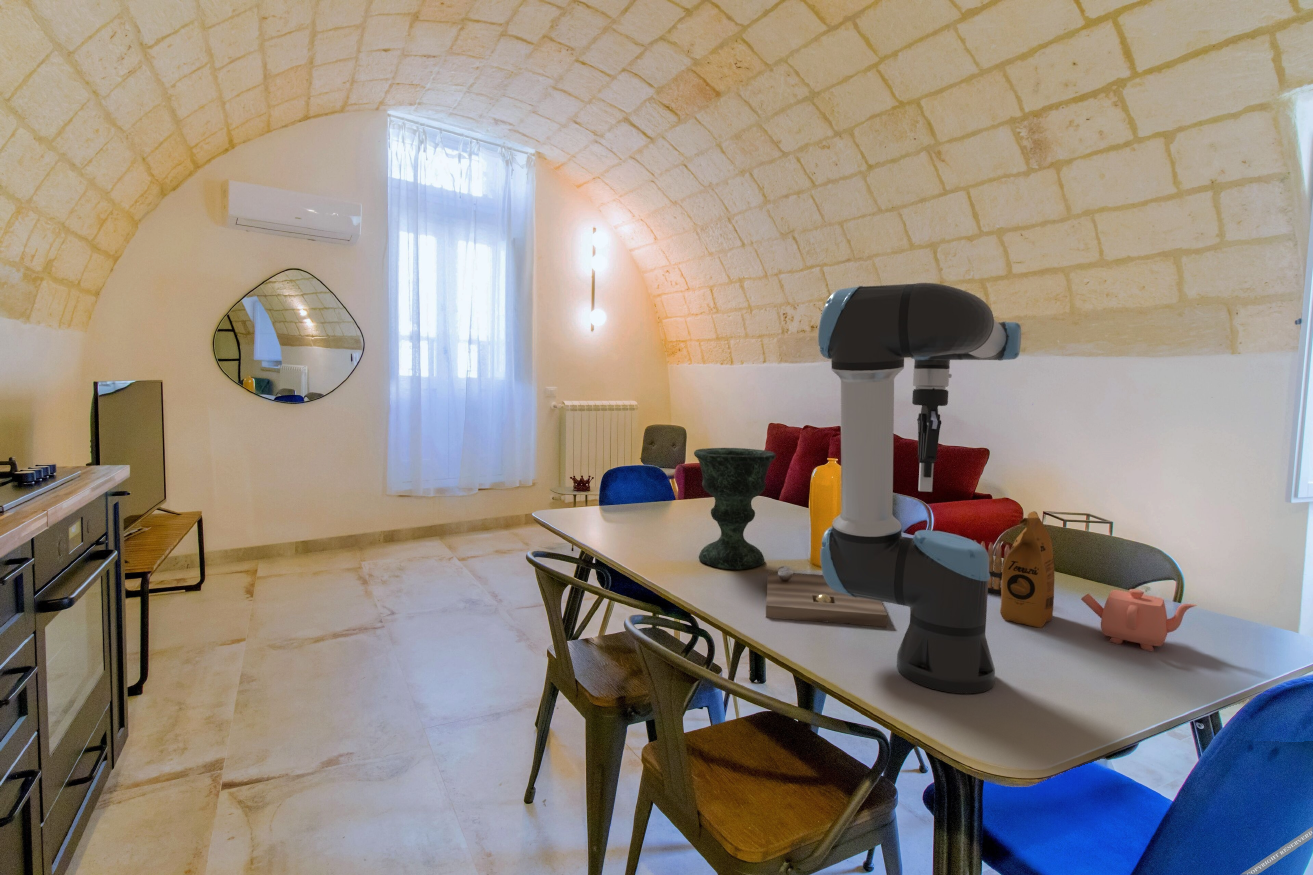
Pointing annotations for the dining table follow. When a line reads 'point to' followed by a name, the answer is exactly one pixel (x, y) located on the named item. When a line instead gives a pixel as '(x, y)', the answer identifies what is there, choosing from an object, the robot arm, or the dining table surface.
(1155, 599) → the teapot
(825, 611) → the hole plate
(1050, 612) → the coffee package
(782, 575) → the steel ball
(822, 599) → the brass ball
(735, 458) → the goblet
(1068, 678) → the dining table surface
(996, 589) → the ammunition clip
